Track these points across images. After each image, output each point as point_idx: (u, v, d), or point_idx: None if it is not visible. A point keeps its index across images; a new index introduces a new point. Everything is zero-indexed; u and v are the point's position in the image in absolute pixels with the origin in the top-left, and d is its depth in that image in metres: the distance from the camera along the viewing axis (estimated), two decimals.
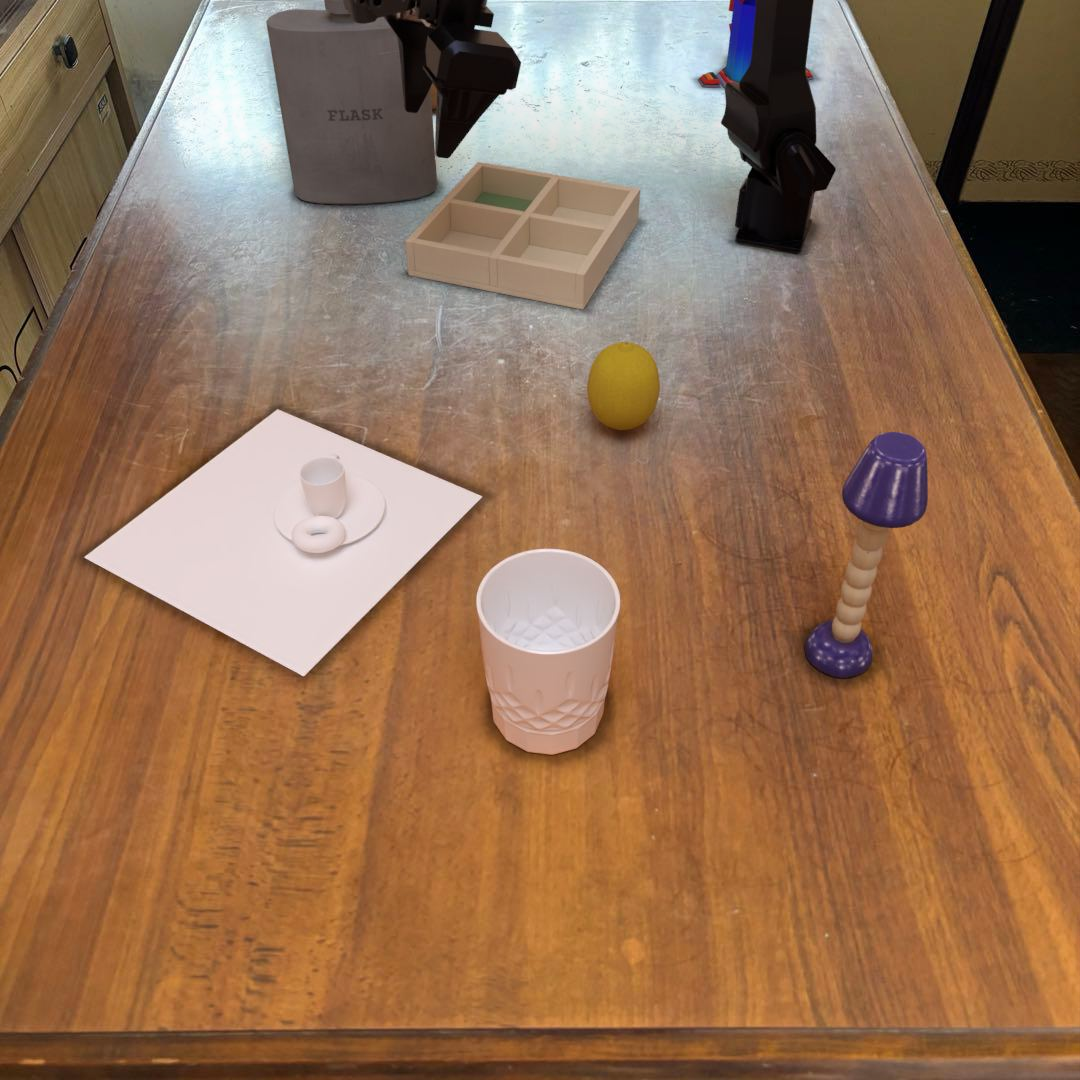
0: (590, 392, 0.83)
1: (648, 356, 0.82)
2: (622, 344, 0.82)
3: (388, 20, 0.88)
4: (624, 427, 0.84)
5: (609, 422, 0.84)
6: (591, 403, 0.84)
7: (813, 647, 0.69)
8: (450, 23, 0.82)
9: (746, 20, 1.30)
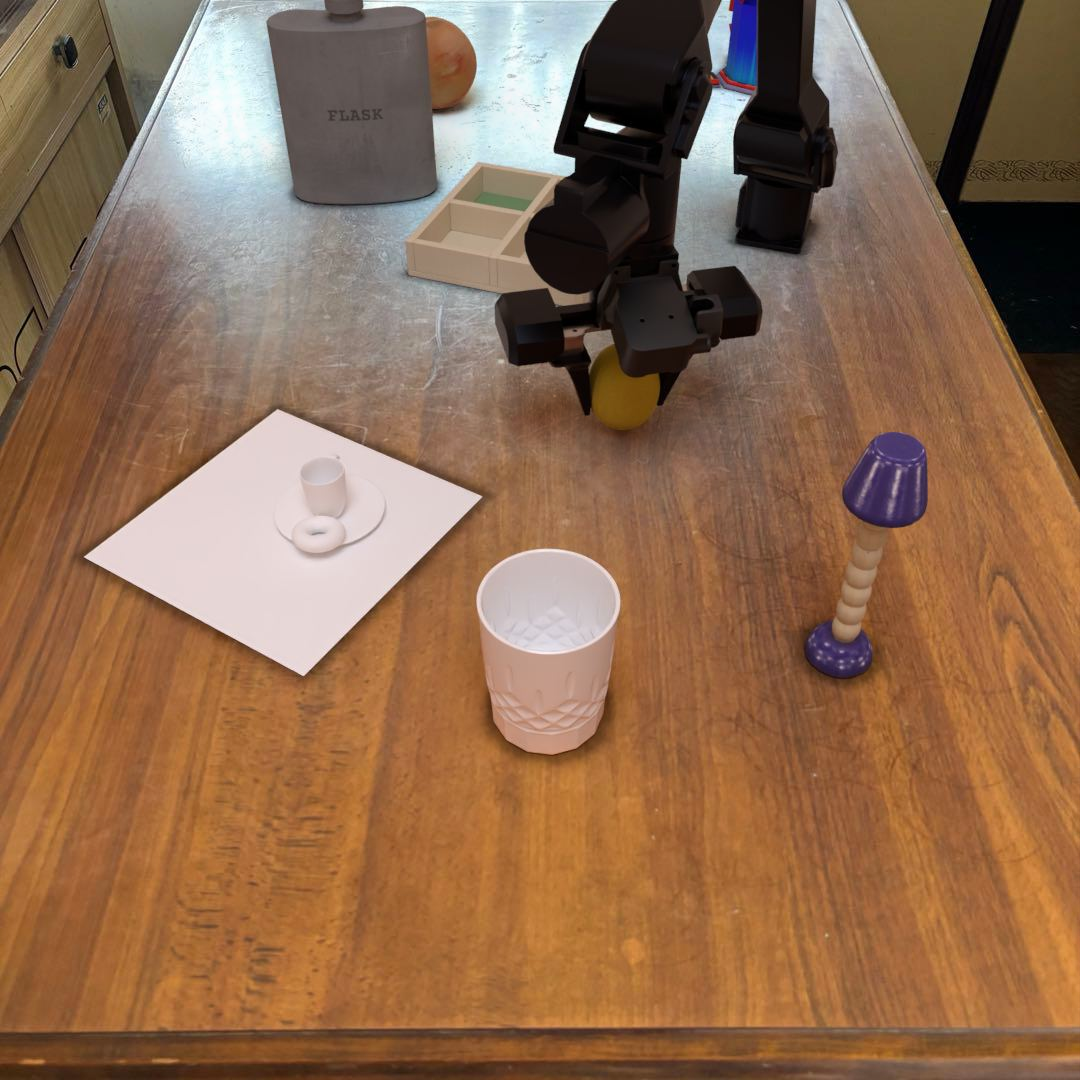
0: None
1: None
2: None
3: (591, 360, 0.78)
4: (624, 427, 0.84)
5: (609, 422, 0.84)
6: (591, 403, 0.84)
7: (813, 647, 0.69)
8: None
9: (746, 20, 1.30)
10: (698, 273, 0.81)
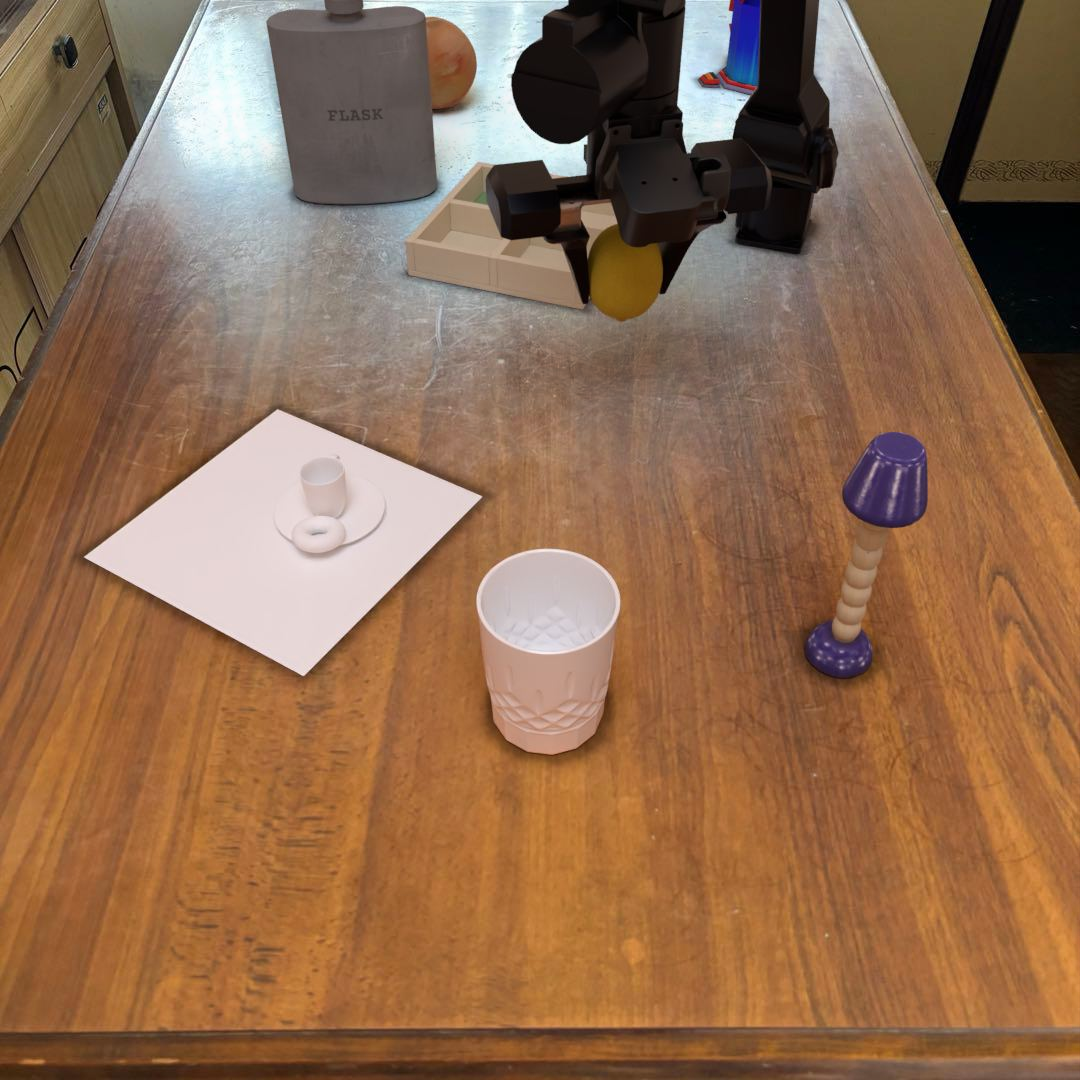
0: (589, 277, 0.78)
1: None
2: None
3: (589, 236, 0.73)
4: (625, 315, 0.79)
5: (609, 310, 0.79)
6: (590, 289, 0.79)
7: (813, 647, 0.69)
8: None
9: (746, 20, 1.30)
10: (703, 145, 0.76)
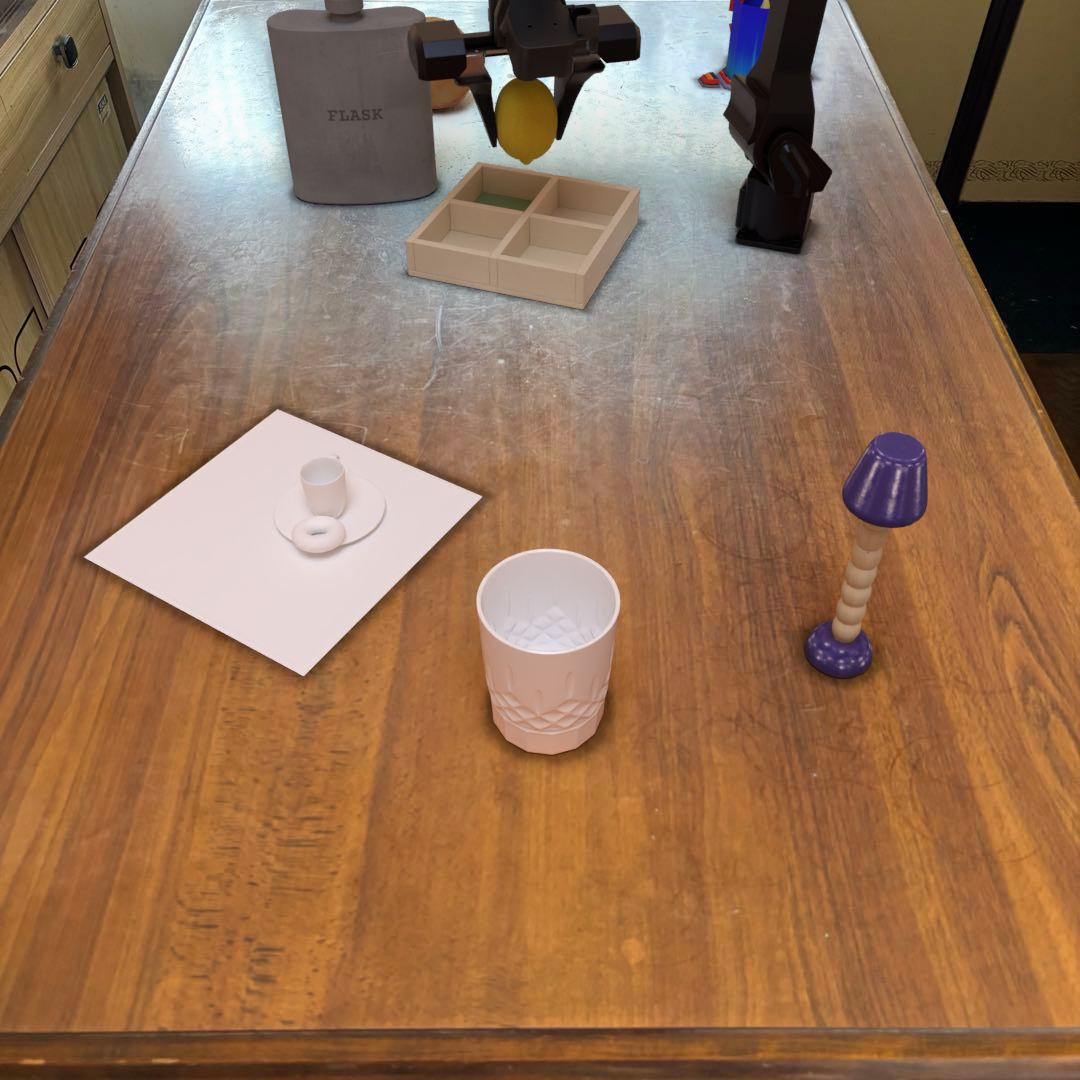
0: (496, 122, 0.95)
1: (545, 87, 0.94)
2: None
3: (491, 80, 0.90)
4: (527, 155, 0.96)
5: (513, 150, 0.95)
6: (497, 133, 0.96)
7: (813, 647, 0.69)
8: None
9: (746, 20, 1.30)
10: None
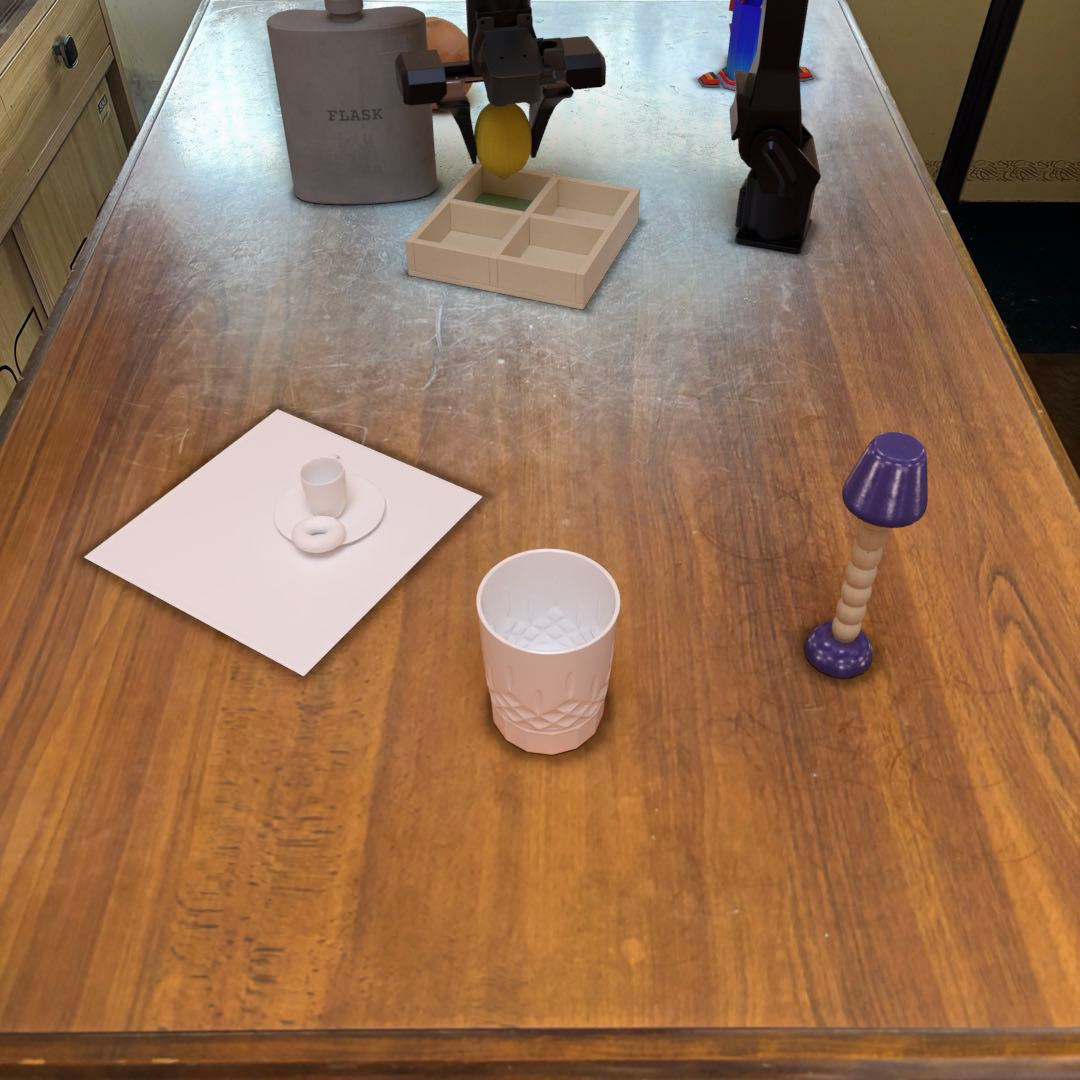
0: (475, 141, 1.05)
1: (520, 109, 1.03)
2: None
3: None
4: (503, 171, 1.05)
5: (491, 166, 1.05)
6: (477, 151, 1.05)
7: (813, 647, 0.69)
8: None
9: (746, 20, 1.30)
10: None
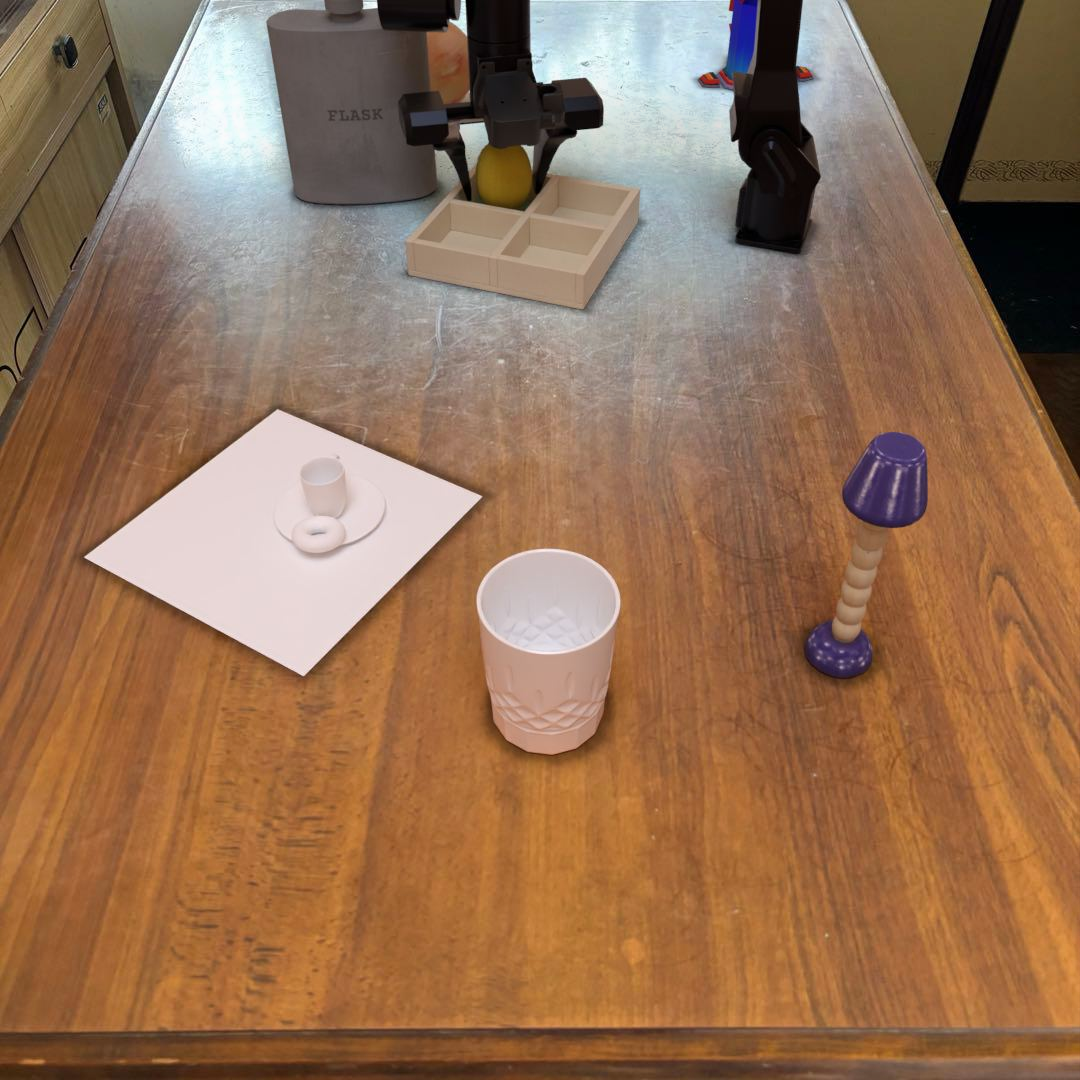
0: (477, 178, 1.07)
1: (520, 148, 1.06)
2: None
3: None
4: (504, 207, 1.08)
5: (492, 202, 1.08)
6: (478, 188, 1.08)
7: (813, 647, 0.69)
8: None
9: (746, 20, 1.30)
10: (556, 82, 1.05)
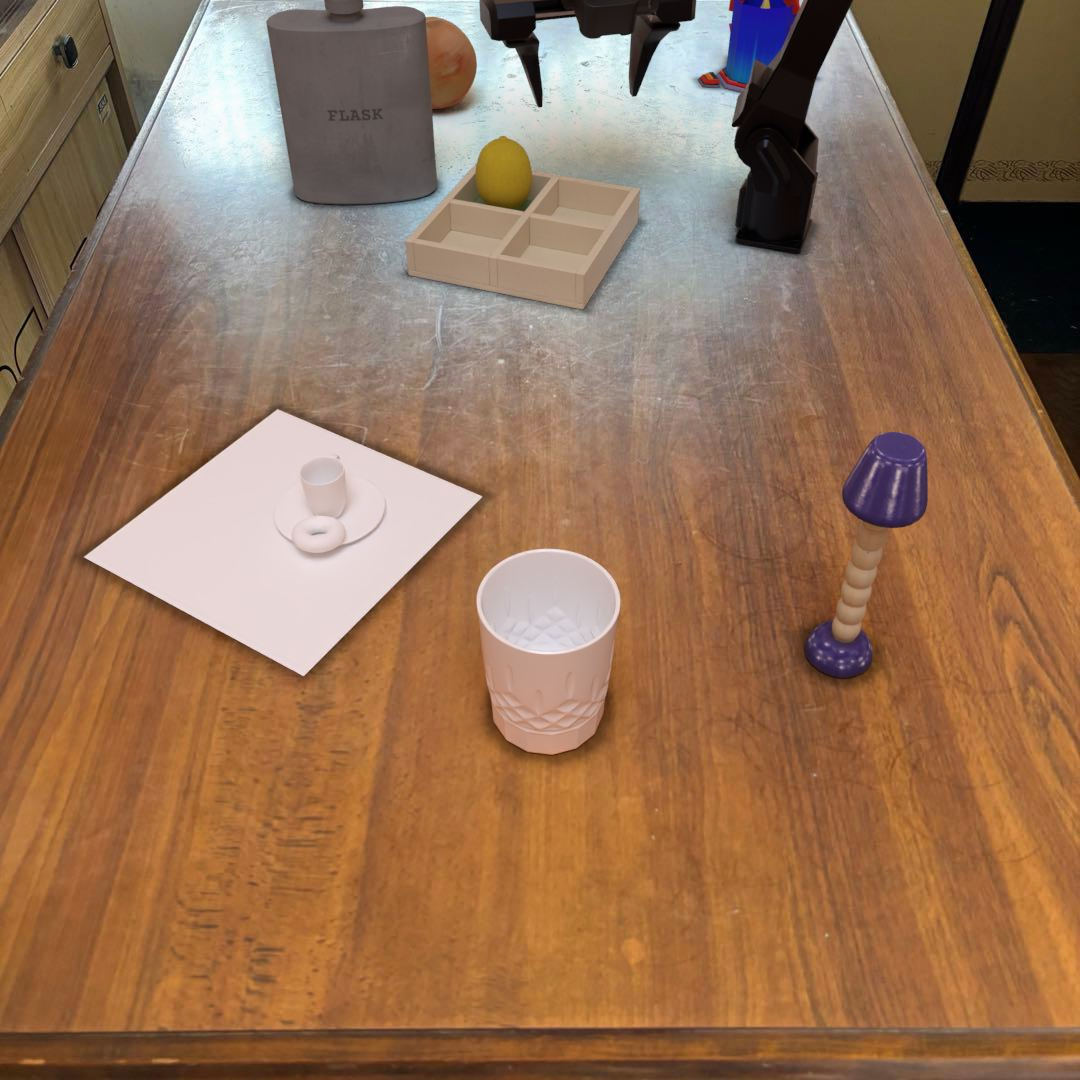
0: (477, 178, 1.07)
1: (520, 148, 1.06)
2: (500, 137, 1.05)
3: None
4: (504, 207, 1.08)
5: (492, 202, 1.08)
6: (478, 188, 1.08)
7: (813, 647, 0.69)
8: None
9: (746, 20, 1.30)
10: None
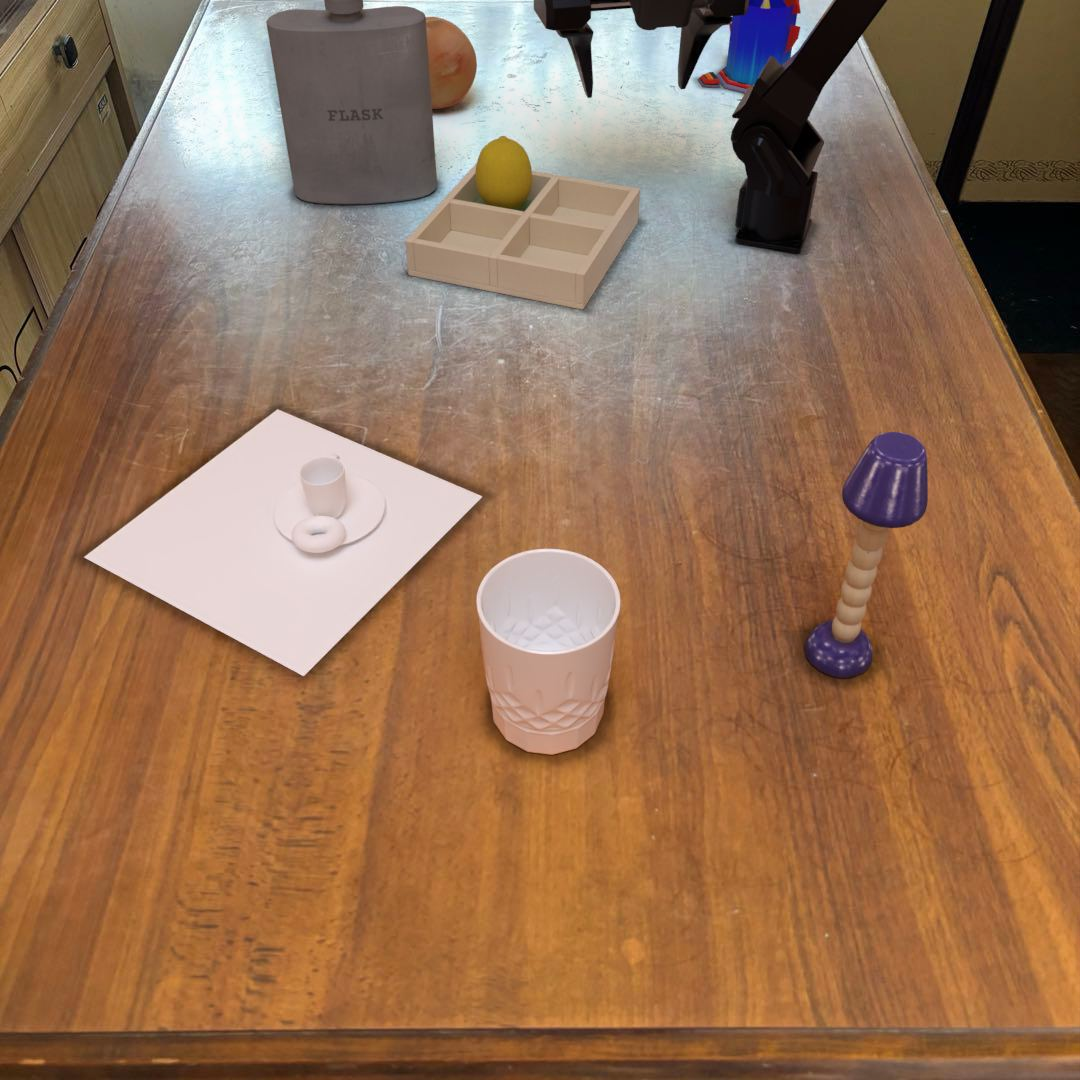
0: (477, 178, 1.07)
1: (520, 148, 1.06)
2: (500, 137, 1.05)
3: None
4: (504, 207, 1.08)
5: (492, 202, 1.08)
6: (478, 188, 1.08)
7: (813, 647, 0.69)
8: None
9: (746, 20, 1.30)
10: None
